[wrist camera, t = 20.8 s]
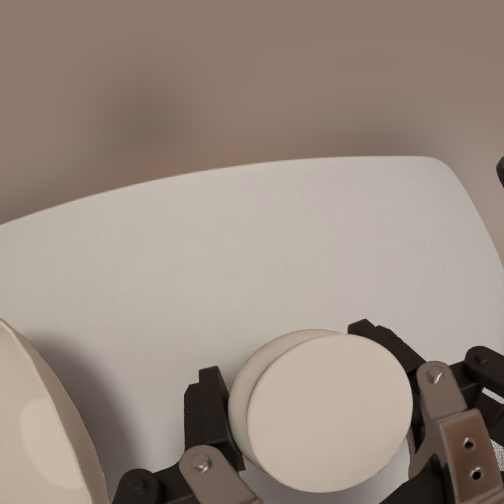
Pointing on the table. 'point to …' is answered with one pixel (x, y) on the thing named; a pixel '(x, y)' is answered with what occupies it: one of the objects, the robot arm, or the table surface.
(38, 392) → the bowl
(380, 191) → the table surface
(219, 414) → the robot arm
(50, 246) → the table surface
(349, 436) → the supplement bottle
